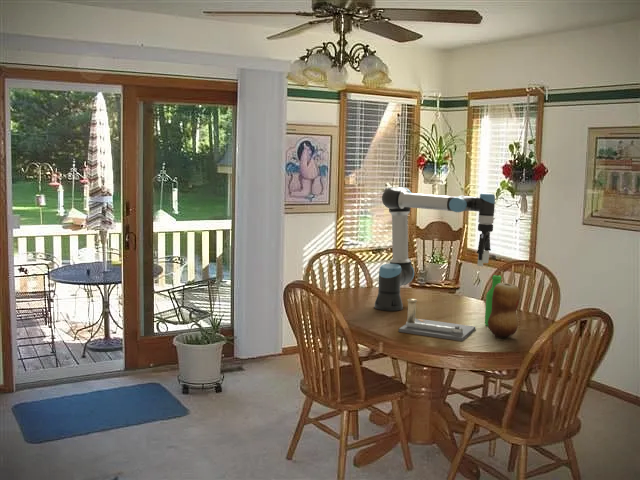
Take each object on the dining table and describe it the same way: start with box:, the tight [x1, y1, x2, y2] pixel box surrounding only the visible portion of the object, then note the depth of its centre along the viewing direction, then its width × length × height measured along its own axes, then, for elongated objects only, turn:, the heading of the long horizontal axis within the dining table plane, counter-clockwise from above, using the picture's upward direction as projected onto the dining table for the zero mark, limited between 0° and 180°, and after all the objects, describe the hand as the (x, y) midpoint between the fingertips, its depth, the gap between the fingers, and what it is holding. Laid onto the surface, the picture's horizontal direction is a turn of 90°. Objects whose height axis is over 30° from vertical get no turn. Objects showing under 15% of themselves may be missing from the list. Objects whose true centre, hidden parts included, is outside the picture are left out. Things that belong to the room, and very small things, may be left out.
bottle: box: [484, 274, 502, 327], centre depth 334 cm, size 9×9×25 cm
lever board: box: [398, 317, 476, 342], centre depth 322 cm, size 30×24×2 cm
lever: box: [405, 298, 463, 334], centre depth 315 cm, size 27×5×13 cm, turn 64°
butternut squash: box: [487, 282, 521, 339], centre depth 313 cm, size 14×13×25 cm
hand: (482, 264), depth 352 cm, fingers open, 13 cm apart
